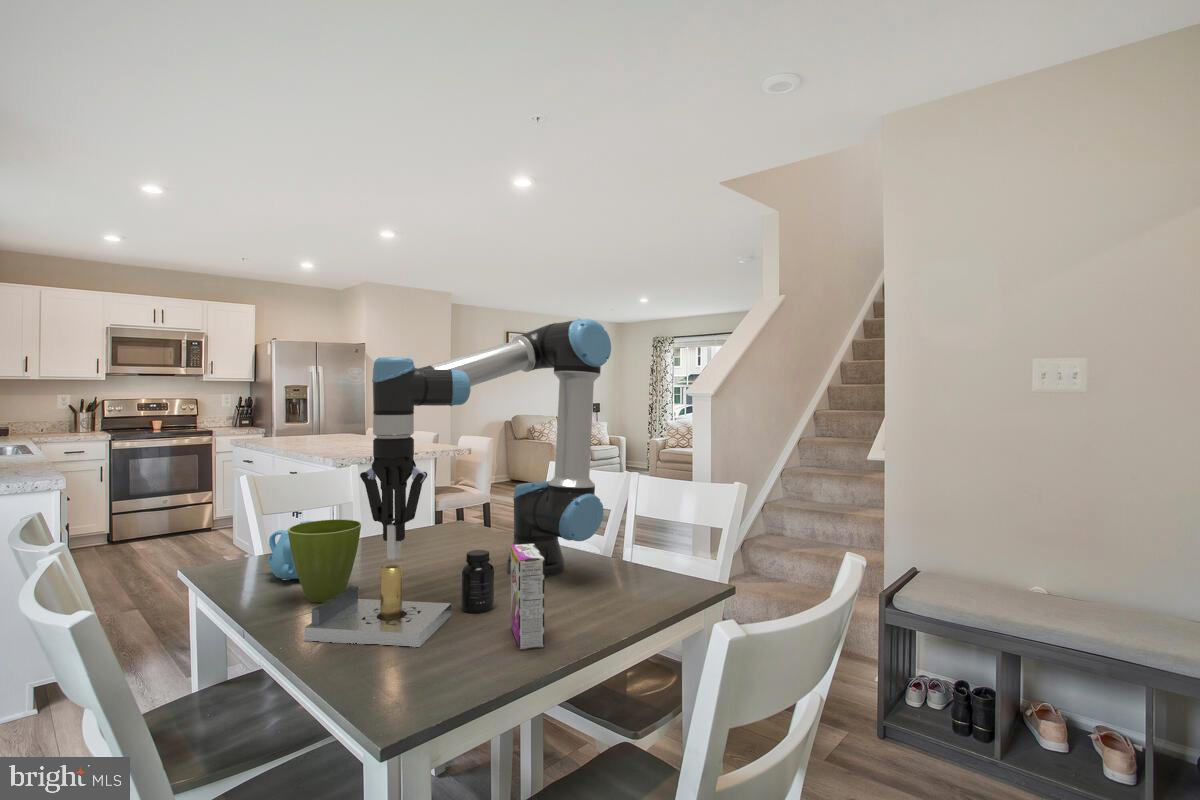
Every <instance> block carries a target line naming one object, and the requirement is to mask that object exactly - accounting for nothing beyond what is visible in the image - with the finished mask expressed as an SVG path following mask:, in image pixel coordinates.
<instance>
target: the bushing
mask: <svg viewBox="0 0 1200 800" xmlns="http://www.w3.org/2000/svg"><path fill="white" fill-rule="evenodd" d="M403 569H404V568H403V565H402V564H401V563H389V564H384V565H382V566H380V600H381V602H380V620H384V621H391V620H398V619H401V618H402V601H403Z"/></svg>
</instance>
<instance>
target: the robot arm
mask: <svg viewBox="0 0 1200 800" xmlns="http://www.w3.org/2000/svg"><path fill="white" fill-rule="evenodd" d="M611 353H612V343H611V339H610V336H609V333H608V332H607V330H605V327H604V326H603V325H602V323H599V322H598V321H597V320H594V319H589V318H586V319H581V318H579V319H575V320H569V321H564V322H554V323H550V324H549V323H548V324H546V325H544V326H541V327H539V328H538V327H537V328H536V329H533V330H531V331H528V332H525V333H522V334H519V335H516V336H515V337H513V338H512V340H511V341H510V342H505V343H503V344H500V345H499V344H498V345H495V346H492V347H489V348H485V349H482V350H479V351H474V352H471V353H467V354H464V355H461V356H457V357H454V358H453V357H452V358H451V359H447V360H443V361H439V362H436V363H434V364H433V363H432V364H430V365H429V364H428V366H423V367H422V366H421V367H416V366H415V363H414V360H413V359H412V358H410V357H403V356H402V357H400V356H384V357H383V356H382V357H378V358H376V359H375V360H374V362H373V368H372V379H371V382H372V397H373V398H372V399H373V401H372V402H373V405H372V407H373V413H372V414H373V415H372V418H373V419H372V420H373V421H372V434H373V435H374V436H375V437H374V439H373V440H372V441H373V442H372V447H373V449H372V453H373V454H372V455H373V462H372V463H371V467H370V468H369V469H367V470H366V471H364V472H361V473H360V474H359V477H360V478H361V480H362V482H363V483H364V486H365V491H366V494H367V499H368V504H369V508H370V513H371V516H372V520H373V521H374V522H378V523H380V524H382V539H383V541H384V542H386V550H387V551H386V560H396V559H397V558H399V557H401V556H402V552H401V550H402V543H401V542H402V541H404V540H405V538H406V523H408V522H410V521H412V520H415V517H416V513H417V509H418V504H419V501H420V495H421V491H422V487H423V483H424V481H425V480H426V479H427V477H428V473H427V472H426V471H422V470H420V469H419V468H418V467H417V465H416V462H415V460H414V455H415V439H414V437H412V436H413V434H414V433H415V427H414V426H415V425H414V424H415V423H414V422H415V419H414V414H415V407H416V406H417V407H420V406H425V407H426V406H431V407H432V406H437V407H438V406H439V407H440V406H443V407H444V406H450V407H453V406H461V405H464V404H465V403H467V401H468V400H469V398H470V395H471V387H473V386H475V385H476V386H477V385H478V384H481V383H485V382H489V381H492V380H495V379H497V378H500V377H503V376H508V375H509V374H513V373H516V372H518V371H522V372H525V373H528V372H531V371H535V370H540V369H541V370H542V369H553V374H554V375H555V376H556V378H557V379H558V380H559V385H558V401H557V402H558V403H557V404H558V406H557V423H556V424H557V426H556V442H555V443H556V444H555V446H556V447H555V461H554V463H555V465H554V466H555V467H554V477H553V478H551V480H548V481H547V480H546V481H535V482H533V481H532V482H525V483H519V484H517V485H516V486H515V487H514V490H513V491H514V494H513V499H512V501H513V542H512V544H511V545H515V544H518V545H520V544H534V545H535V546H536V547H537V549H538V550H539V552H540V553H541V555H542V556H543V557H544V578H545V577H551V576H556V575H558V574H560V573H563V572H564V571H565V558H564V555H563V551H562V549H561V545H560V542H559V538H562V539H564V540H565V541H572V542H573V541H574V542H584V541H586V540H588V539H591V538H592V537H593V536H594V535H595V533H596V532H597V531H598V530H599V529H600V527H601V525H602V522H603V518H604V513H605V512H604V510H605V509H604V505H603V502H601V499H600V498H599V497H598V496H597V495H596V493H595V492H596V491H595V490H596V484H595V483H594V482H593V480H591V478H590V471H591V450H592V448H591V447H592V445H591V444H592V430H593V429H592V428H593V427H592V424H593V409H594V408H593V407H594V405H593V403H594V384H595V381H596V380H597V379H598V378H599V377H600V376H601V370H602V369H601V368H602V366H603V365H605V364H606V363H607V362H608V360H609V359H610V356H611ZM411 435H412V436H411ZM410 477H411V480H412V481H411V484H410V489H409V494H408V497H407V487H408V480H409V478H410ZM377 478H378V480H379V481H380V489H379V486H378V481H377ZM380 490H381V493H380ZM506 571H507V572H508V573H509V574H510V575H511V549H510V551H509V554H508V557H507V560H506Z"/></svg>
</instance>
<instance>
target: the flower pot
mask: <svg viewBox="0 0 1200 800" xmlns="http://www.w3.org/2000/svg"><path fill="white" fill-rule="evenodd" d="M311 521H312V522H306V523H301V524H300V523H298V524H295V525H293V526H291V527H289V528H287V530H288V535H289V542H290V548H291V553H292V557H293V561H294V565H295V568H296V572H297V575H298V578H299V579H298V580H299V583H300V586H301V589H302V591H303V593H304V596H305V598H306V600H307V601H309V602H310V601H311V602H312V603H324V602H325V601H327V600H329V599H330V598H332V597H334V596H336V595H337V594H339V593H341V592H342V591H344V590H346V589H347V585H348V584H349V581H350V577H351V575H352V572H353V568H354V564H355V560H356V557H357V552H358V547H359V542H360V537H361V536H360V535H361V528H362V522H360V521H357V520H352V519H322V520H314V521H313V520H311ZM311 602H310V603H311Z"/></svg>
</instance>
